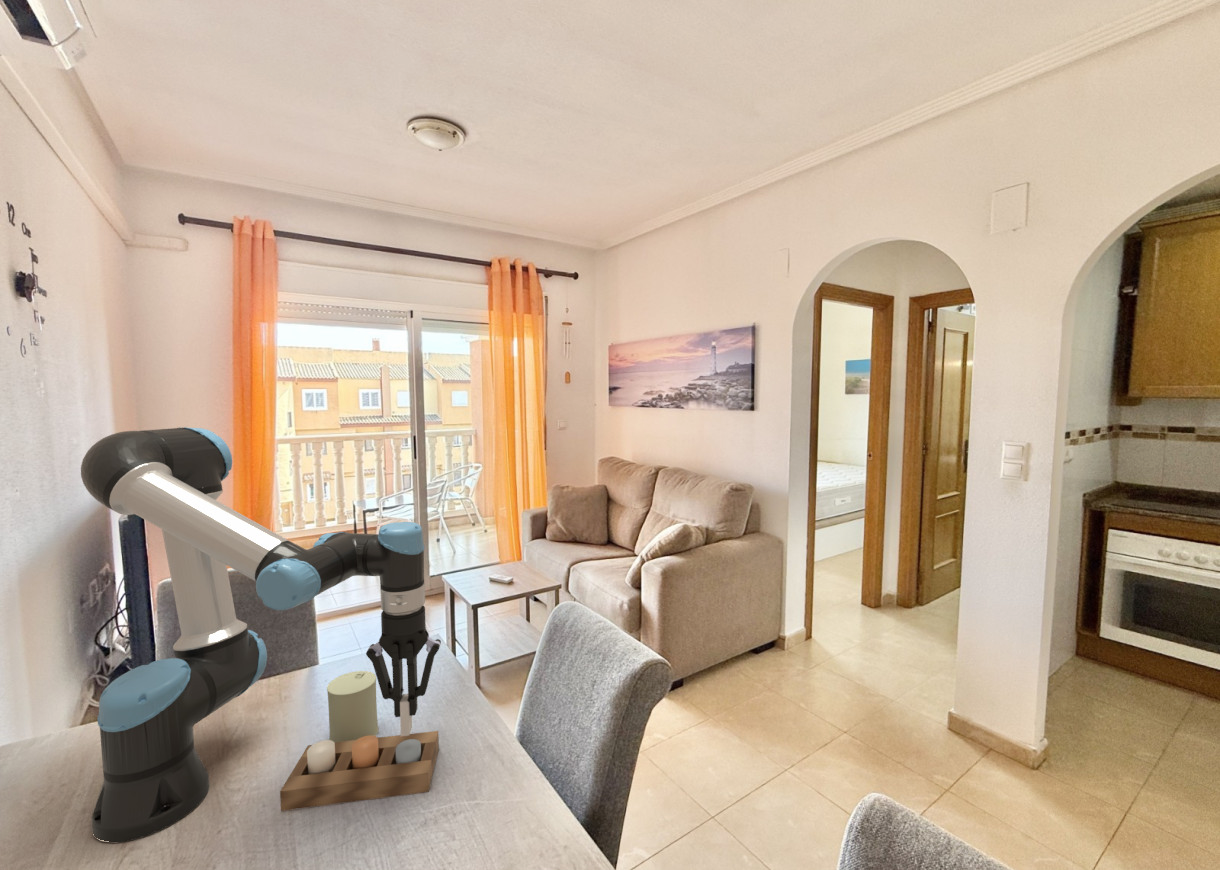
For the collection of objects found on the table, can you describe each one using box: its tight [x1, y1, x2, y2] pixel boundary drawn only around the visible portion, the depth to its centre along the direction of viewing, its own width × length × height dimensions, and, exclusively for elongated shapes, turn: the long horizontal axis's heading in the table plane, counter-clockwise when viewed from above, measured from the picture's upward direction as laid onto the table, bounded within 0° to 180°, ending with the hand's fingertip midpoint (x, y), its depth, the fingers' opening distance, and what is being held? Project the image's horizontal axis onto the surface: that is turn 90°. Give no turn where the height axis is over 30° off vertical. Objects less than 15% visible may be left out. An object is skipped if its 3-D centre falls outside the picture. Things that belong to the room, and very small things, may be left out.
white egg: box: [307, 739, 336, 775], centre depth 95 cm, size 4×4×5 cm
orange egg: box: [352, 735, 379, 769], centre depth 97 cm, size 4×4×5 cm
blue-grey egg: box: [396, 739, 421, 764], centre depth 98 cm, size 4×4×5 cm
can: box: [326, 670, 379, 742], centre depth 108 cm, size 9×9×12 cm
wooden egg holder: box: [279, 730, 440, 812], centre depth 97 cm, size 24×12×4 cm, turn 100°
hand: (406, 731), depth 98 cm, fingers closed
